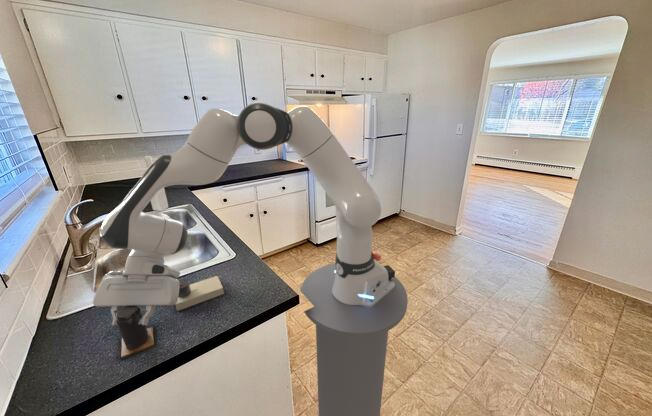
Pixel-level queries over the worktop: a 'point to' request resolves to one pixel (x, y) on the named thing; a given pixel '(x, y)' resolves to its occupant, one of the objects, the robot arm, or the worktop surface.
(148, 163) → the bottle
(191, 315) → the worktop surface
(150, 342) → the trivet
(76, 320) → the worktop surface
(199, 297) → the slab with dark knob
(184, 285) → the knob
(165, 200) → the milk
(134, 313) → the jar
